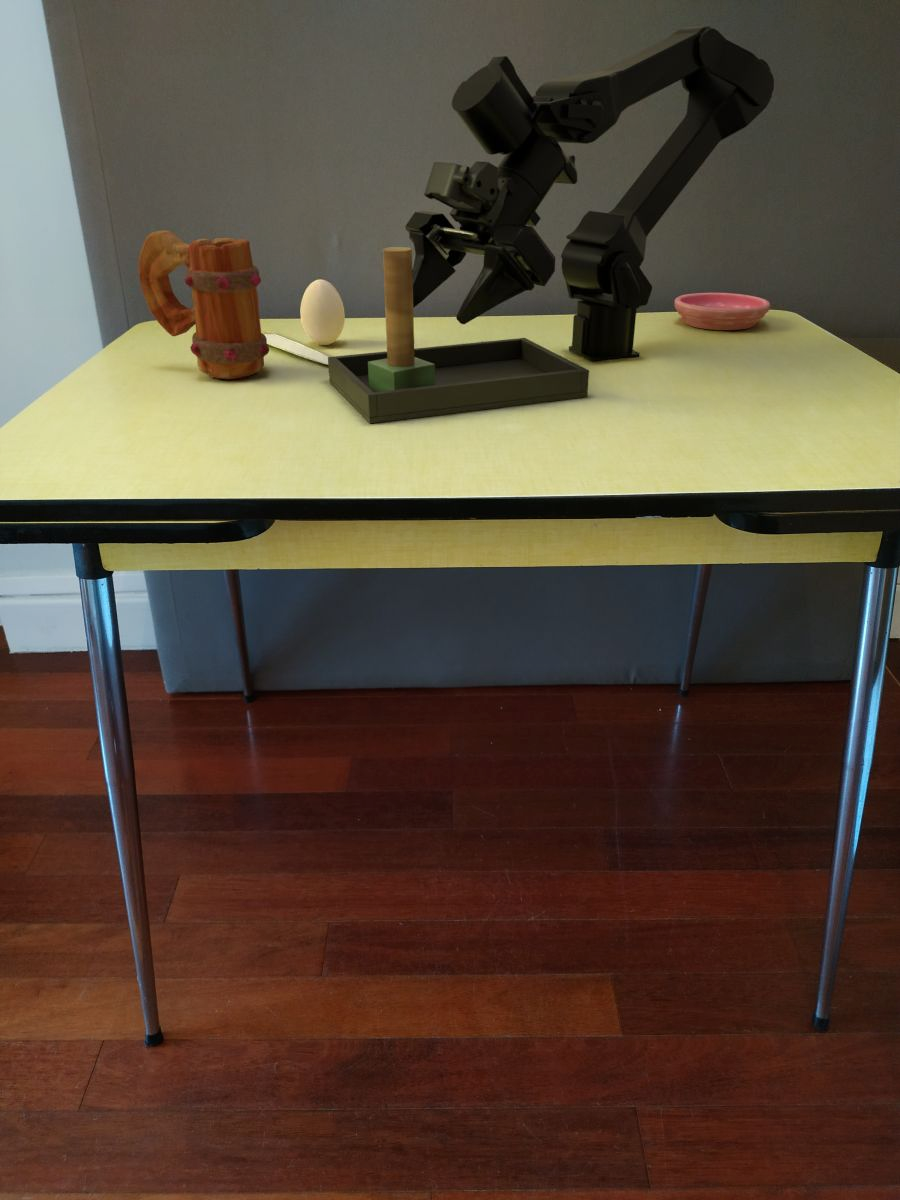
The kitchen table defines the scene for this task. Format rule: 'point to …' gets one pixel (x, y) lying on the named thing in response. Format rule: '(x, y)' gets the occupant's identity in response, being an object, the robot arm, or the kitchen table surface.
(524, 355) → the tray
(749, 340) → the kitchen table surface
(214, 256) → the mug
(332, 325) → the egg
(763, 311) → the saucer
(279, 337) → the knife
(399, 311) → the peg on green base
